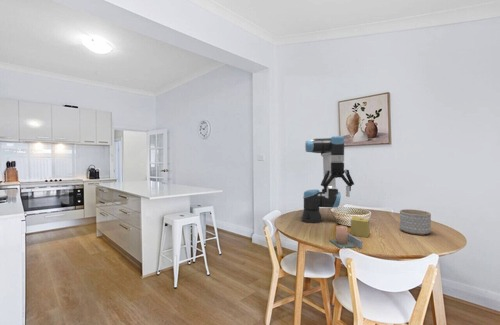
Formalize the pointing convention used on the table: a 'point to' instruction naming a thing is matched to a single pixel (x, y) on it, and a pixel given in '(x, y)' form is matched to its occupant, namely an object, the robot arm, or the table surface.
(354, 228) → the cheese
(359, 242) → the divider wall
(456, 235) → the table surface
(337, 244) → the mat
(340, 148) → the robot arm
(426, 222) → the planter
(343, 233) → the pink rounded cylinder
